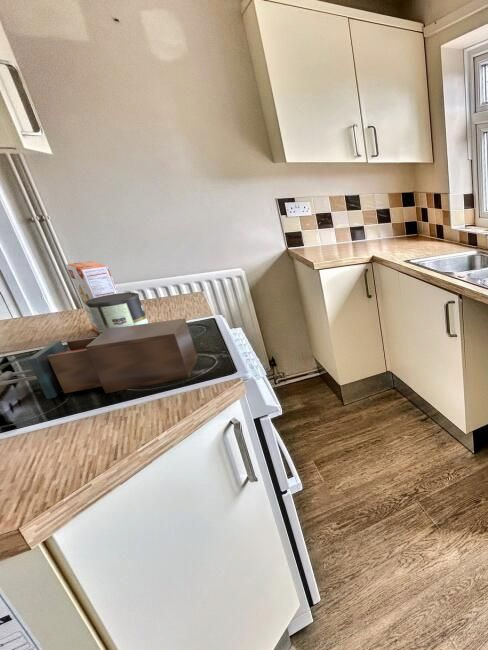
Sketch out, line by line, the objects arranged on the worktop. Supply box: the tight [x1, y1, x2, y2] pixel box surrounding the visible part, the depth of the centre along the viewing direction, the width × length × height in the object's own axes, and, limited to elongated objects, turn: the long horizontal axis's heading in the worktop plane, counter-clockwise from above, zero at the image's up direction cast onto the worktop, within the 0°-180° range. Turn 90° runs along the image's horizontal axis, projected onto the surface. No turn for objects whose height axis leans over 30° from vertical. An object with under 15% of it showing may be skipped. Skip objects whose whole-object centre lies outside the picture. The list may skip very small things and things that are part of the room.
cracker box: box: [65, 260, 119, 336], centre depth 120 cm, size 14×6×21 cm, turn 56°
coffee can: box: [86, 292, 149, 335], centre depth 111 cm, size 10×10×14 cm
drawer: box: [0, 336, 103, 400], centre depth 89 cm, size 22×11×9 cm, turn 118°
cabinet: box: [86, 318, 199, 394], centre depth 95 cm, size 15×13×11 cm
